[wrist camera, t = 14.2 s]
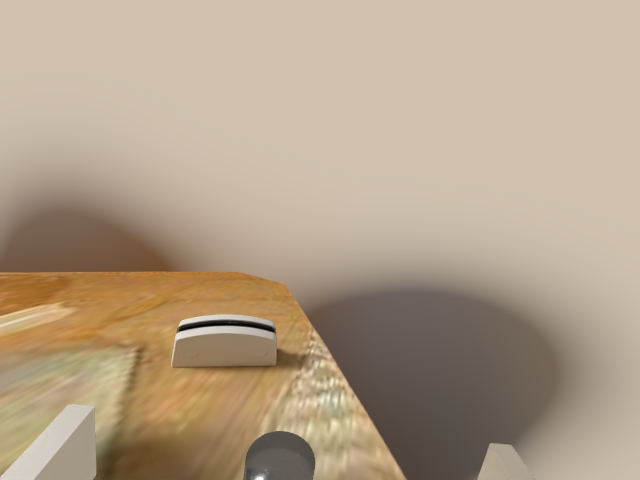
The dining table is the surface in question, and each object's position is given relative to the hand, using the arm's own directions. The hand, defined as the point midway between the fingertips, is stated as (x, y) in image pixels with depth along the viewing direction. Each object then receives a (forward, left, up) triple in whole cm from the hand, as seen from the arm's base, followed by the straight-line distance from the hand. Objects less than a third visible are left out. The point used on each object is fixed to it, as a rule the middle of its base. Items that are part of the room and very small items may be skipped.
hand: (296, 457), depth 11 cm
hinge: (-27, +30, -25) cm, 48 cm away
